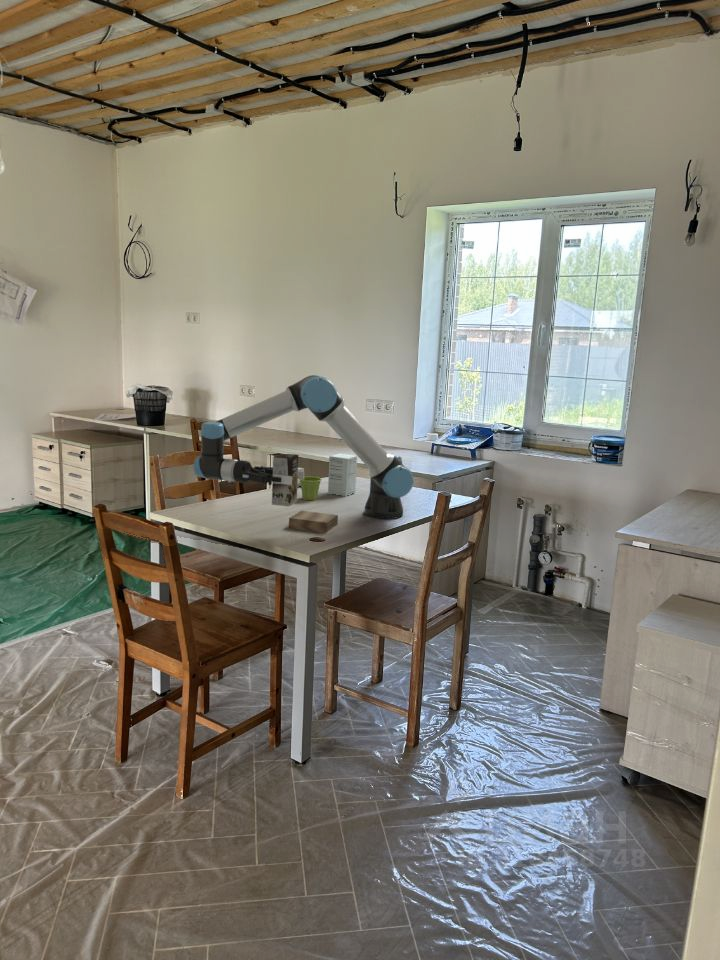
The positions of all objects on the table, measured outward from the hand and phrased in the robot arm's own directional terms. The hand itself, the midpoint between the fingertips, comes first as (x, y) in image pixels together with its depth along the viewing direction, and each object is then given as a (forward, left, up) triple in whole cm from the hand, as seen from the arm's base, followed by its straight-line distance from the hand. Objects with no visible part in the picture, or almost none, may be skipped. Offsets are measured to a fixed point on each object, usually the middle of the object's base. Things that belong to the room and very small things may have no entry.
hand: (297, 478), depth 222 cm
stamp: (+33, -74, -20) cm, 84 cm away
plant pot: (+18, -53, -20) cm, 60 cm away
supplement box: (+10, -70, -20) cm, 74 cm away
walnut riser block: (0, -14, -20) cm, 25 cm away
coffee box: (+4, 0, -9) cm, 10 cm away
